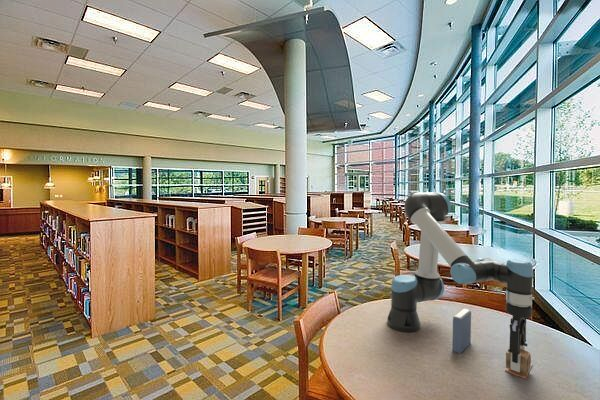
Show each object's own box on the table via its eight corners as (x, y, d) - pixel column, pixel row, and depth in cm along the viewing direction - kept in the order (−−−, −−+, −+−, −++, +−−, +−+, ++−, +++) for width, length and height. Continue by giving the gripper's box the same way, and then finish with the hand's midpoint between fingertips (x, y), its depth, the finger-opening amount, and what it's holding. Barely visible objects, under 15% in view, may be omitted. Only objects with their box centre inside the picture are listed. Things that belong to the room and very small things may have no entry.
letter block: (506, 367, 106) (506, 351, 105) (510, 361, 110) (510, 345, 109) (527, 375, 101) (527, 358, 101) (531, 368, 105) (531, 351, 105)
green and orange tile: (504, 370, 106) (504, 369, 106) (509, 364, 110) (509, 363, 110) (525, 378, 101) (525, 377, 101) (529, 371, 105) (529, 370, 105)
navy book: (452, 350, 119) (453, 316, 119) (462, 340, 127) (463, 307, 127) (460, 353, 117) (461, 318, 116) (470, 343, 125) (471, 310, 124)
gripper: (526, 314, 96) (524, 383, 96) (537, 299, 108) (535, 360, 109) (499, 307, 101) (497, 372, 102) (512, 294, 114) (511, 352, 115)
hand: (517, 366), depth 105 cm, fingers closed on letter block, 6 cm apart
